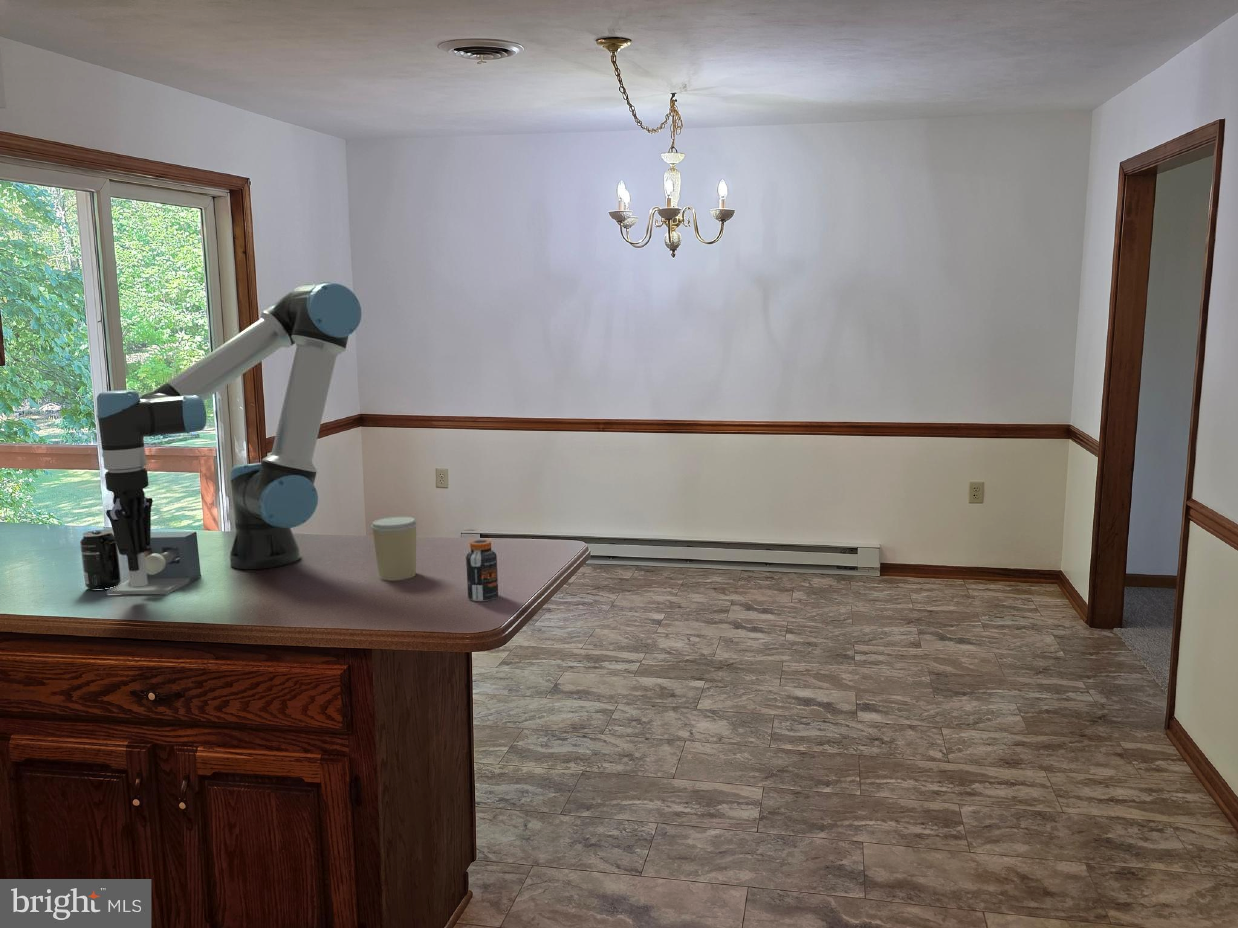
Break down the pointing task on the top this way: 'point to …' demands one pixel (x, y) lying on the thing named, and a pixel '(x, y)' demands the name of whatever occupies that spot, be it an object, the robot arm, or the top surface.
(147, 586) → the mount
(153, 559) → the knob ivory
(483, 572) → the pill bottle
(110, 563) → the beverage can
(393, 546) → the coffee cup
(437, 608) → the top surface
